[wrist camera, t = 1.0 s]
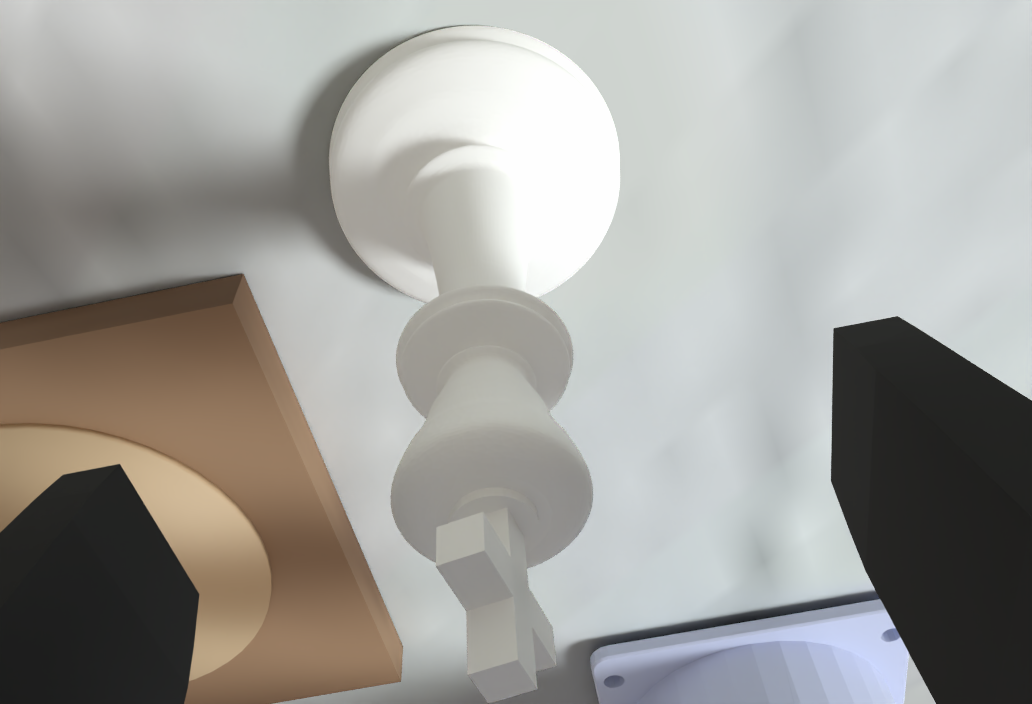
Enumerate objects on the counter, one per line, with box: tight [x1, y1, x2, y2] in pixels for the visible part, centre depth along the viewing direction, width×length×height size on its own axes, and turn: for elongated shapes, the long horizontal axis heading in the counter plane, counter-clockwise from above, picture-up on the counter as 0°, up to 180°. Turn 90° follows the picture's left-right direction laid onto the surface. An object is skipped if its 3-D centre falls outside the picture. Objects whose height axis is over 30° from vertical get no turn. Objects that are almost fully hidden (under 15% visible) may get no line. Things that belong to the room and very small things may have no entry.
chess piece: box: [329, 26, 620, 704], centre depth 11 cm, size 5×5×10 cm
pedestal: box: [0, 274, 403, 704], centre depth 19 cm, size 11×11×1 cm
